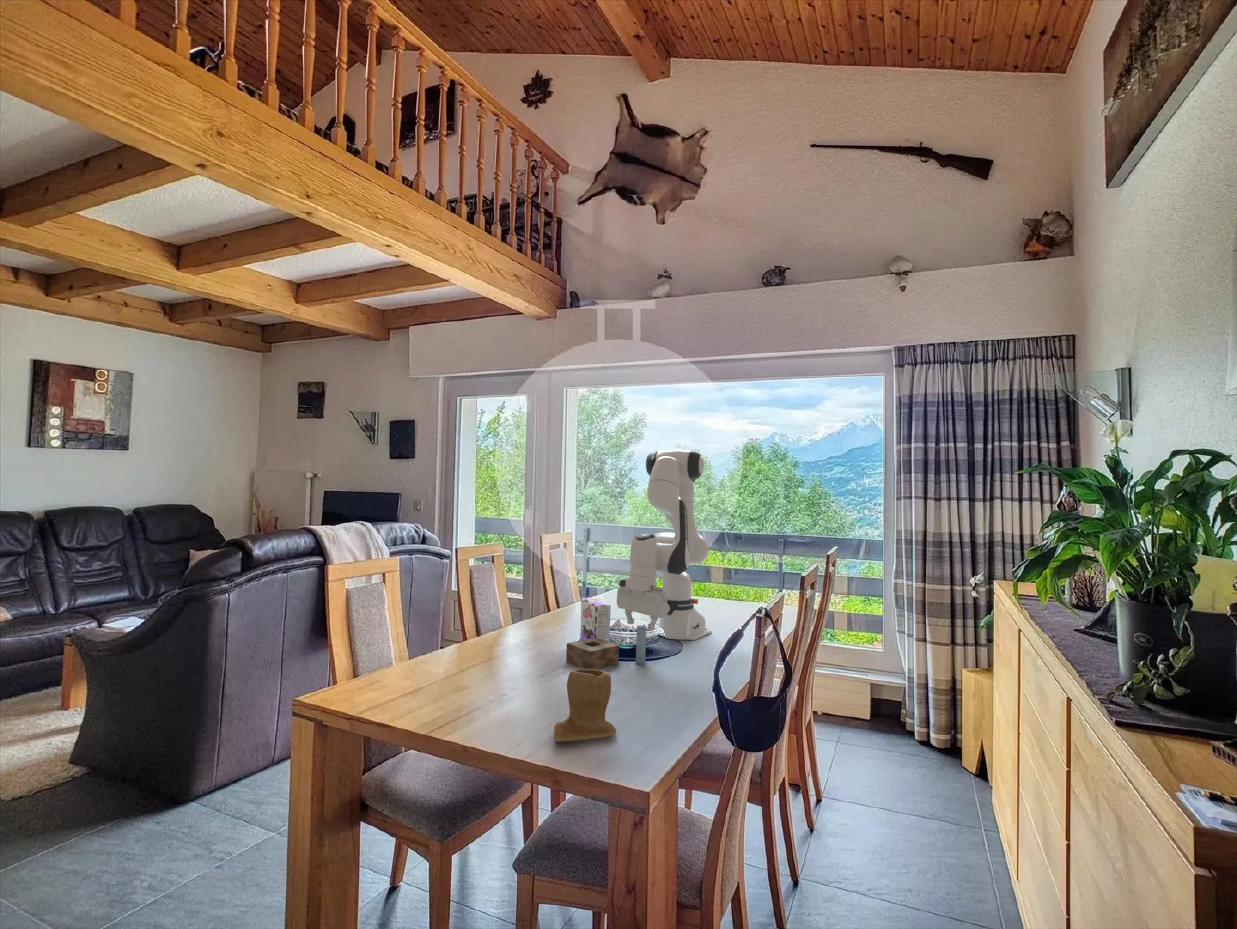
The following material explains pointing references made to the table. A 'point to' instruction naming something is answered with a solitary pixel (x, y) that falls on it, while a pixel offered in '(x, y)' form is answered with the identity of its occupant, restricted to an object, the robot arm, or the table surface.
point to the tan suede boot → (586, 707)
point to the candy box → (594, 618)
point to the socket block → (592, 653)
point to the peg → (640, 644)
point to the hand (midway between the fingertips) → (640, 626)
